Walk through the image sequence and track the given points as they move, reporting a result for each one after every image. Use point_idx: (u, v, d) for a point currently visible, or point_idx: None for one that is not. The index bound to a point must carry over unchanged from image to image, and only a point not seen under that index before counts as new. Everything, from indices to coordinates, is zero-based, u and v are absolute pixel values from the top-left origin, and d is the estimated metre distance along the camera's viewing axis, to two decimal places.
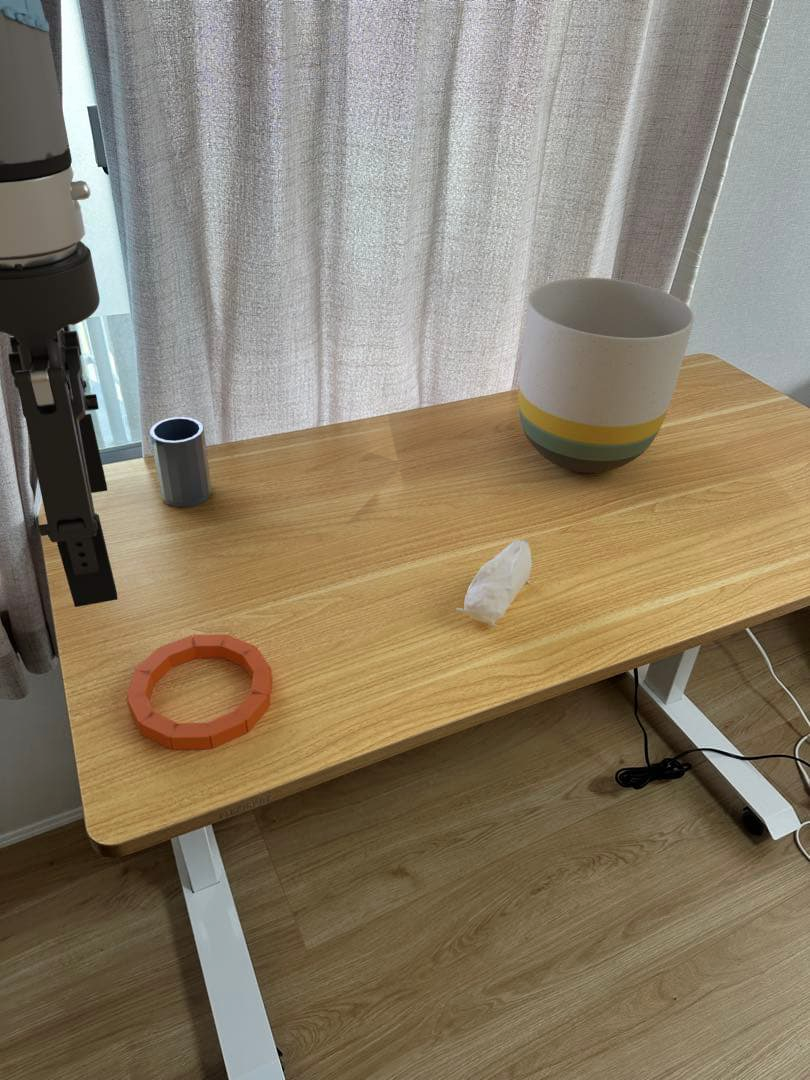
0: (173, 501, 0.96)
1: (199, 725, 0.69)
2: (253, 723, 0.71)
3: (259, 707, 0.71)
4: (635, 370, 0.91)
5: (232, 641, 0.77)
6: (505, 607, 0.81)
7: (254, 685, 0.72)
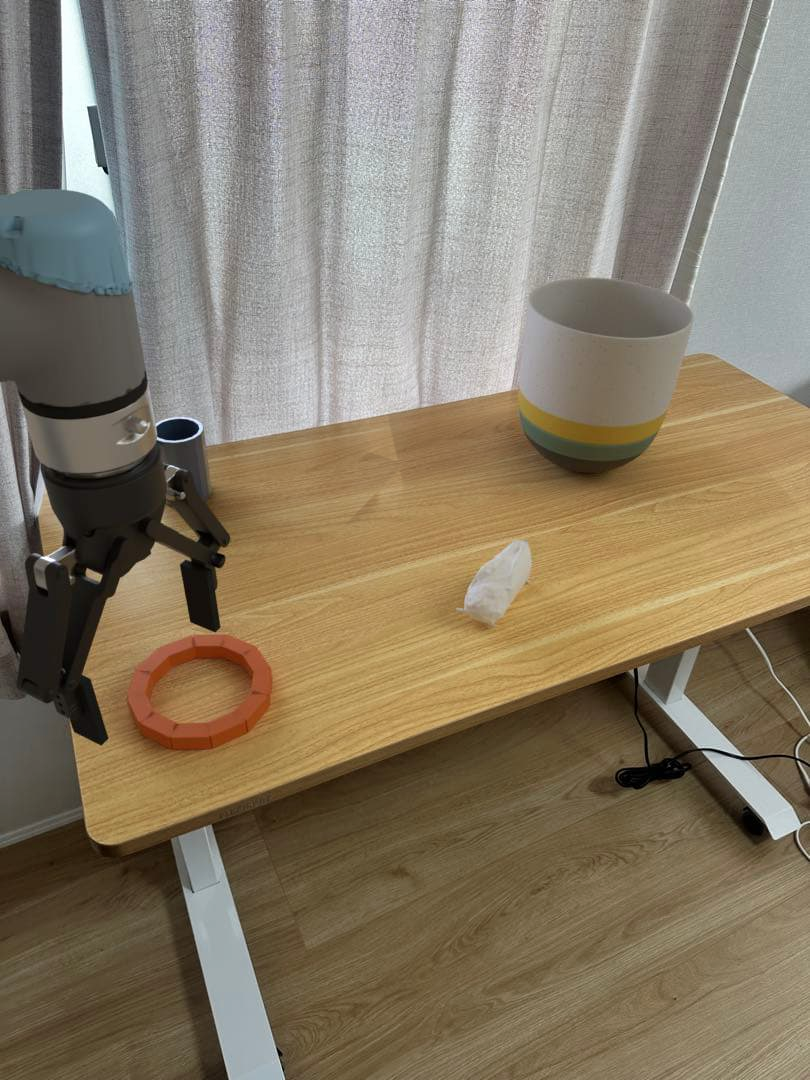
0: None
1: (199, 725, 0.69)
2: (253, 723, 0.71)
3: (259, 707, 0.71)
4: (634, 369, 0.91)
5: (232, 641, 0.77)
6: (505, 607, 0.81)
7: (254, 685, 0.72)
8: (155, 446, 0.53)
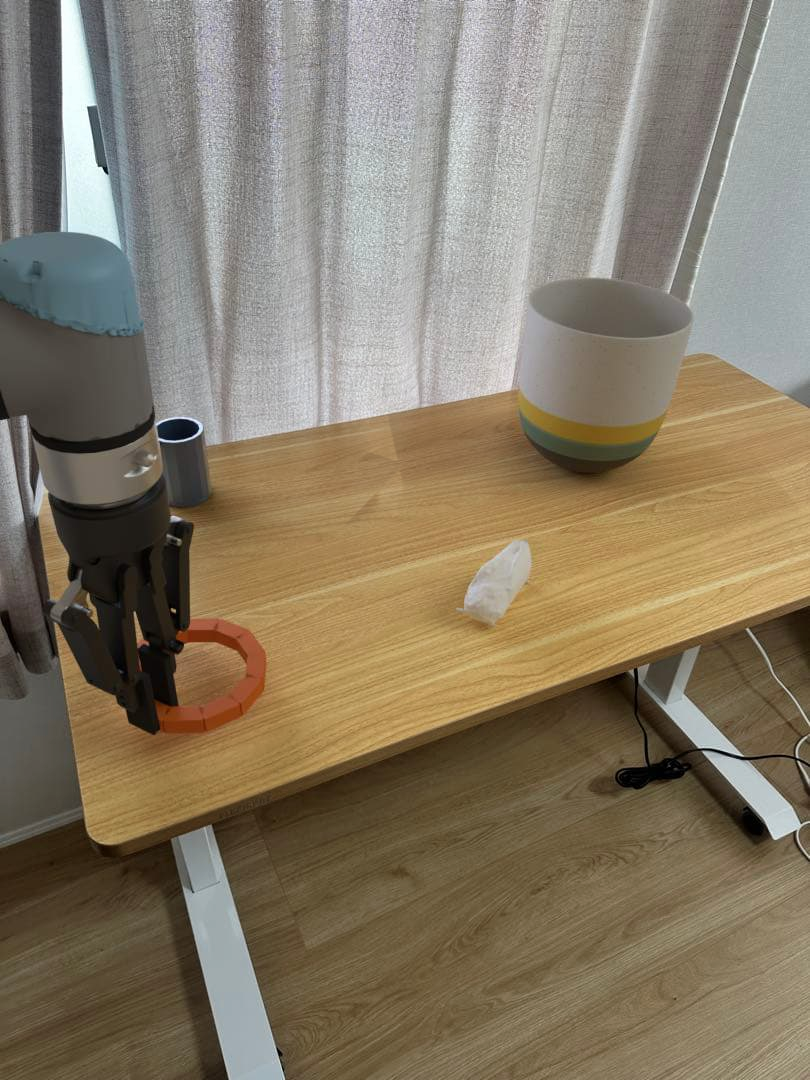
0: (173, 501, 0.96)
1: (192, 708, 0.67)
2: (248, 707, 0.69)
3: (254, 690, 0.69)
4: (634, 369, 0.91)
5: (225, 625, 0.75)
6: (505, 607, 0.81)
7: (248, 668, 0.71)
8: (160, 477, 0.55)
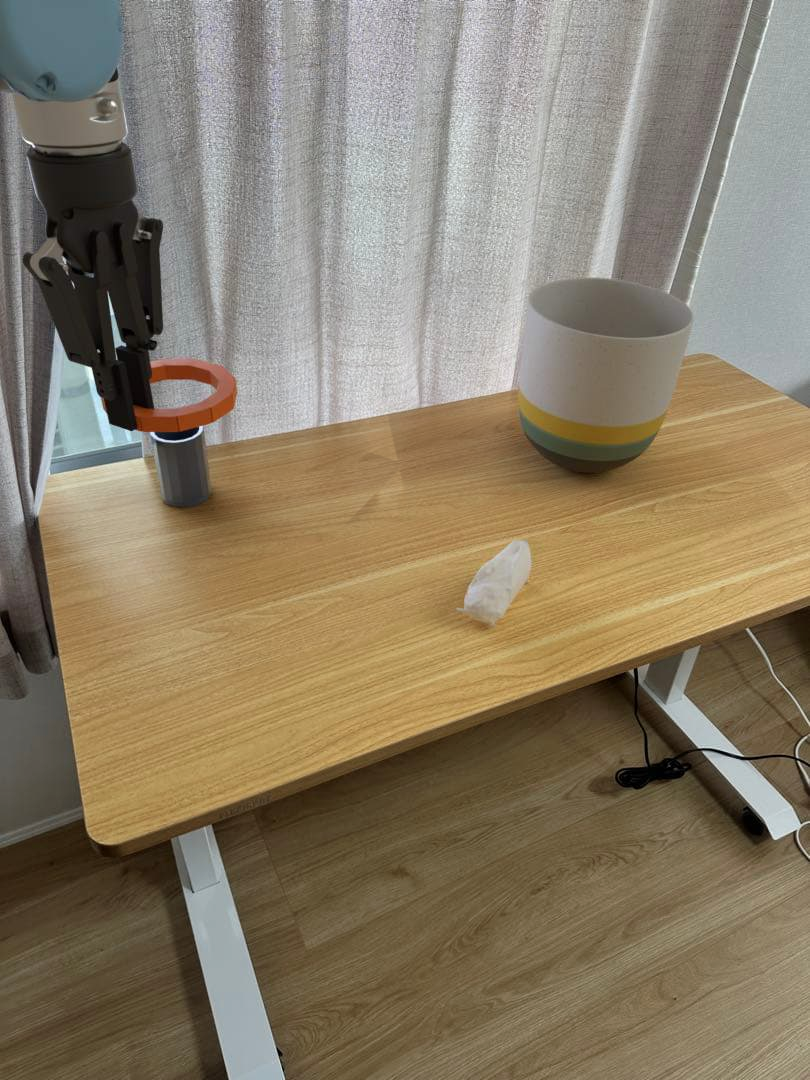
0: (173, 501, 0.96)
1: (167, 410, 0.74)
2: (218, 416, 0.76)
3: (223, 401, 0.76)
4: (634, 369, 0.91)
5: (200, 362, 0.82)
6: (505, 607, 0.81)
7: (219, 388, 0.78)
8: (126, 146, 0.61)
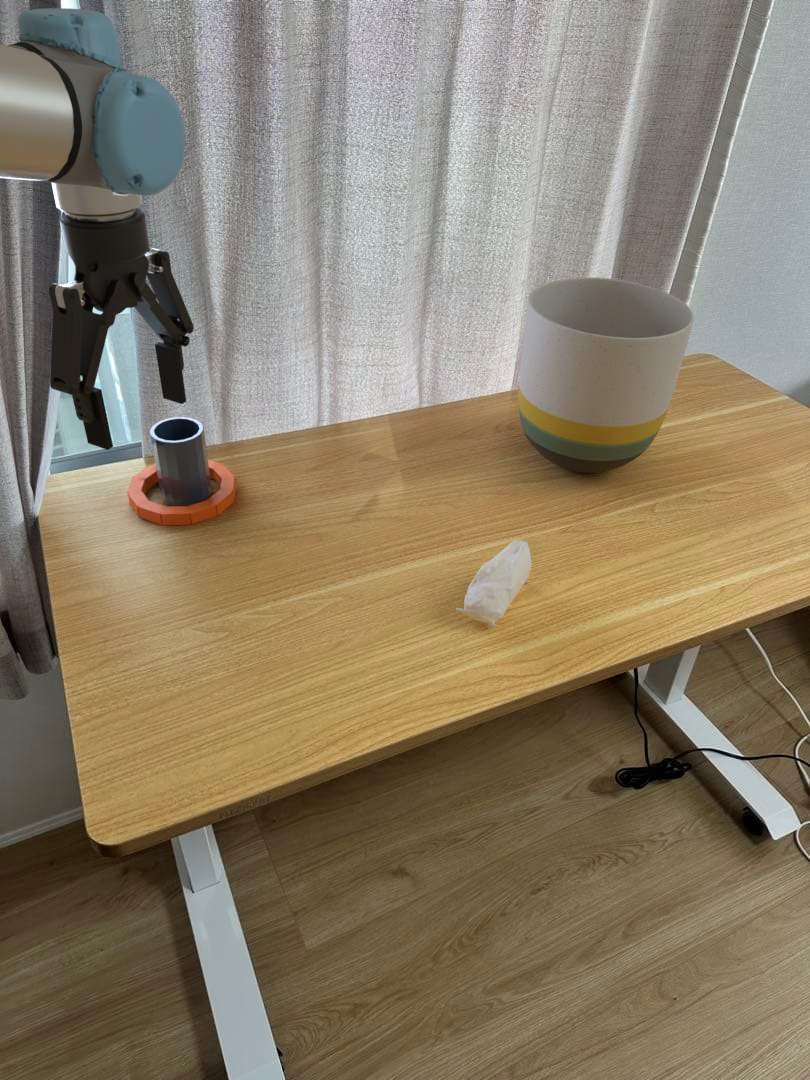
0: (173, 501, 0.96)
1: (181, 507, 0.94)
2: (222, 510, 0.96)
3: (226, 498, 0.96)
4: (634, 369, 0.91)
5: None
6: (505, 607, 0.81)
7: (222, 485, 0.98)
8: (140, 211, 0.75)
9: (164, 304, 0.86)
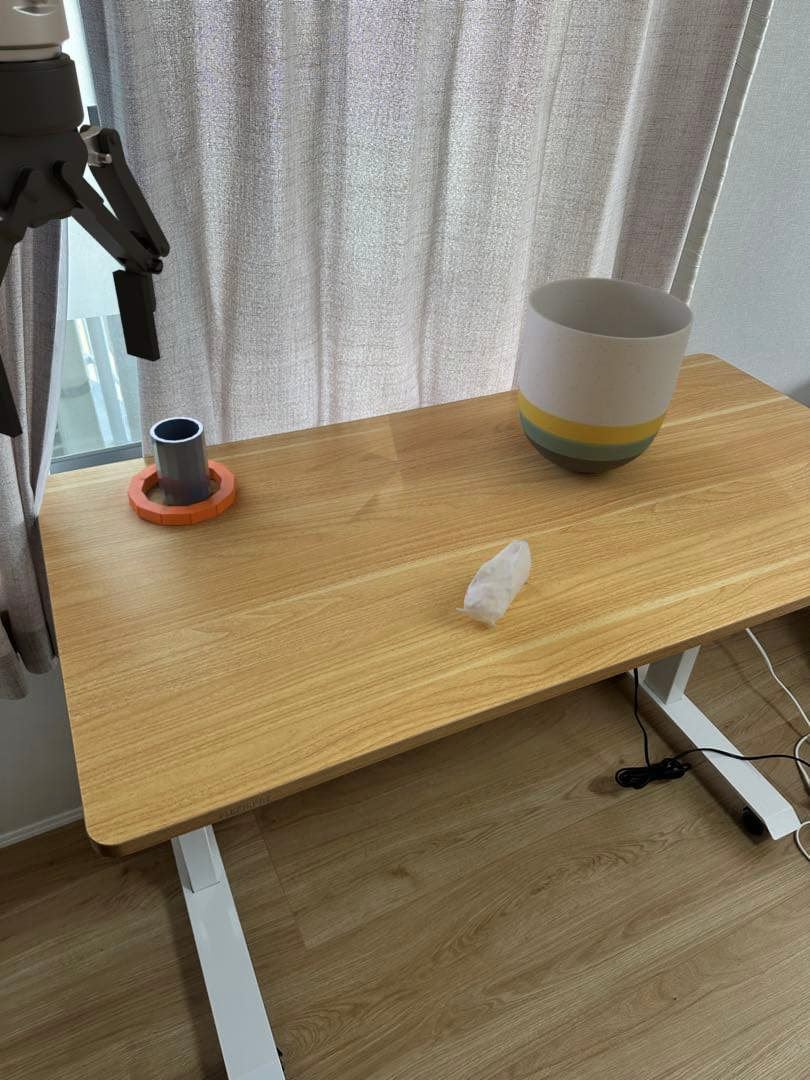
0: (173, 501, 0.96)
1: (181, 507, 0.94)
2: (222, 510, 0.96)
3: (226, 498, 0.96)
4: (634, 369, 0.91)
5: None
6: (505, 607, 0.81)
7: (222, 485, 0.98)
8: (68, 56, 0.47)
9: (122, 214, 0.58)
